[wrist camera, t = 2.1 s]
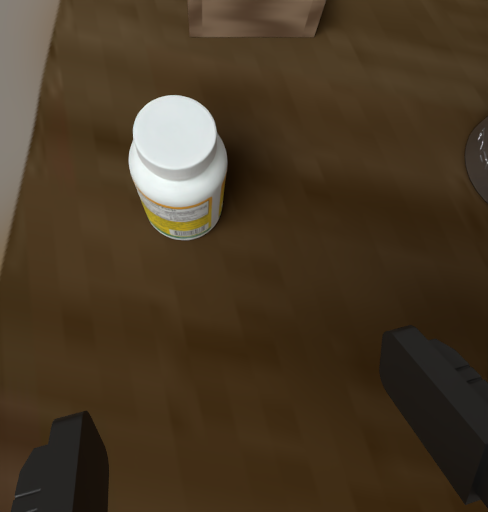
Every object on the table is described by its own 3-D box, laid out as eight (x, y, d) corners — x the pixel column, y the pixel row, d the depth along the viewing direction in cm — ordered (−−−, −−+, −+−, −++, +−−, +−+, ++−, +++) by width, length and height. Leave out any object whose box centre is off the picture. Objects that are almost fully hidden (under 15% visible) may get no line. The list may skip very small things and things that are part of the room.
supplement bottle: (190, 257, 28) (181, 206, 19) (129, 210, 28) (92, 137, 19) (238, 199, 29) (253, 125, 20) (179, 155, 30) (167, 63, 20)
